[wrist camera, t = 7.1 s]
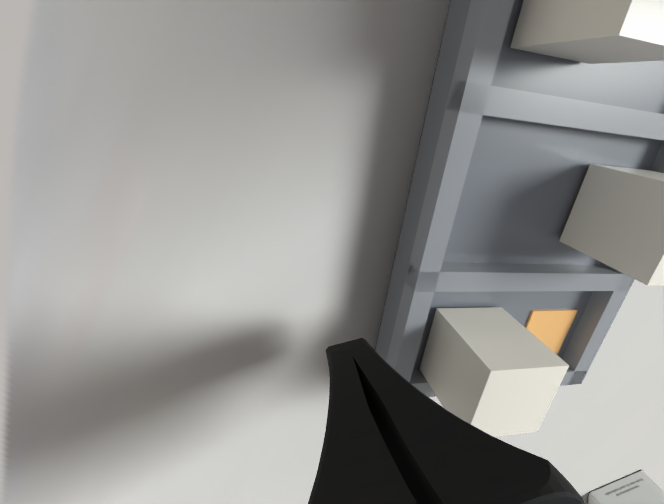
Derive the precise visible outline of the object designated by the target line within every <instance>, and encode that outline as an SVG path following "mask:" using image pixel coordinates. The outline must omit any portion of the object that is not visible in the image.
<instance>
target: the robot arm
mask: <svg viewBox="0 0 664 504" xmlns="http://www.w3.org/2000/svg"><path fill="white" fill-rule="evenodd" d="M326 354H327V359H328V365H329V370H330V395H329V407H328V417H327V425H326V432H325V437H324V443H323V448H322V453H321V457H320V462H319V466H318V471H317V475H316V478H315V482H314V485H313V489H312V492H311V496H310V499H309V502H308V504H584V502H583V499H582V497H581V496H580V495H579V494H578V492H577V491H576V490H575V489H574V487H573V486H572V485H571V484H570V483H569V482H568V480H567V479H566V478H565V477H564V476H563V475H562V474H561V473H560V472H559V471H558V470H557V469H556V468H555V467H554V466H553V465H552V464H551V463H550V462H549V461H548V460H546V459H543V458H541V457H538V456H536V455H533V454H531V453H529V452H526V451H524V450H521V449H519V448H516V447H514V446H512V445H510V444H507V443H505V442H503V441H501V440H499V439H497V438H495V437H493V436H491V435H489V434H487V433H485V432H484V431H482V430H480V429H478V428H476V427H474V426H473V425H471V424H469V423H467V422H465V421H464V420H462V419H460V418H459V417H457V416H455V415H454V414H452V413H451V412H449V411H447V410H446V409H444V408H443V407H441V406H440V405H439V404H437V403H436V402H434V401H433V400H431V399H430V398H429V397H427V396H426V395H425V394H423V393H422V392H421V391H419V390H418V389H417V388H416V387H414V386H413V385H412V384H411V383H409V382H408V381H407V380H406V379H405V378H403V377H402V376H401V375H400V374H399V373H398V372H397V371H396V370H394V369H393V368H392V367H391V366H390V365H389V364H388V363H387V362H386V361H385V360H384V359H383V358H382V357H381V356H380V355H379V354H378V353H377V352H376V351H375V350H374V349H373V348H372V347H371V346H370V345H369V344H368V342H367V341H366V340H365V339H363V338H360V339H356V340H353V341H349V342H345V343H341V344H337V345H334V346H330V347H328V348H327V349H326Z"/></svg>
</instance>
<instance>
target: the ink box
mask: <svg viewBox="0 0 664 504" xmlns="http://www.w3.org/2000/svg"><path fill="white" fill-rule="evenodd" d="M588 504H664V490H663V489H662V488H661V487H660V486H659V485H658V484H657V483H656V482H655V481H654V480H653V479H652V478H651V477H650V476H649V475H648V474H647V473H646V472H645V471H643V470H641V471H639V472H637V473H634V474H632V475H630V476H627V477H625V478H623V479H620V480H618V481H616V482H613V483H611V484H609V485H606V486H604V487H602V488H600V489H597V490H595V491H592V492H590V493H589V497H588Z"/></svg>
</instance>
